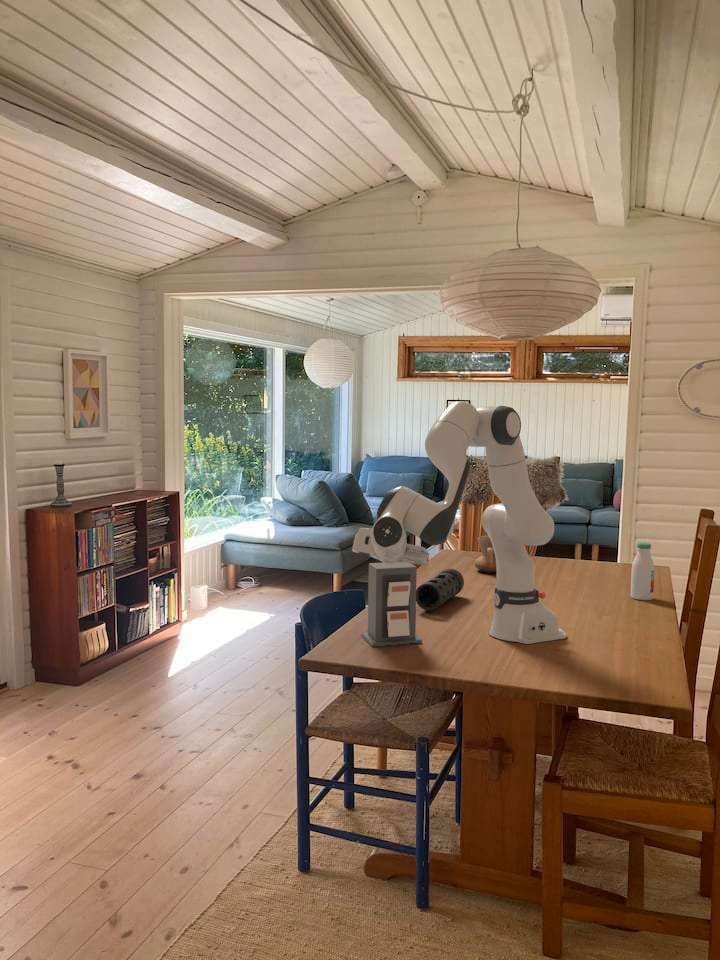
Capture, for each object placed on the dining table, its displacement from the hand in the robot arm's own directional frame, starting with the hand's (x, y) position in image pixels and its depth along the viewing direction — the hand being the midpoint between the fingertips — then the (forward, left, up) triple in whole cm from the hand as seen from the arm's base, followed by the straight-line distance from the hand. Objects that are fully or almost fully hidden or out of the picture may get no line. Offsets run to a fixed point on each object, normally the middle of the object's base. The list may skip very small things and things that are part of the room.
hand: (391, 556), depth 212 cm
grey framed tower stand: (-4, -11, -27) cm, 29 cm away
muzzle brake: (-33, -47, -27) cm, 63 cm away
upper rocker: (-4, -6, -15) cm, 17 cm away
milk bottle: (-107, -39, -27) cm, 117 cm away
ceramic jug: (-73, -93, -27) cm, 121 cm away
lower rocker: (-4, -4, -24) cm, 24 cm away
